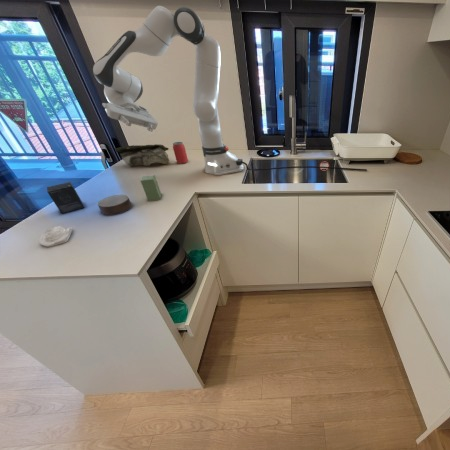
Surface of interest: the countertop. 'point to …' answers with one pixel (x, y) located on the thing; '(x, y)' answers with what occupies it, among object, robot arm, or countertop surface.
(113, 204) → the cylinder
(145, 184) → the block
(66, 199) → the box
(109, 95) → the robot arm
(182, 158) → the beer can
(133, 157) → the hollow geode rock
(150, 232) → the countertop surface
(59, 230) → the white flat lumpy piece
